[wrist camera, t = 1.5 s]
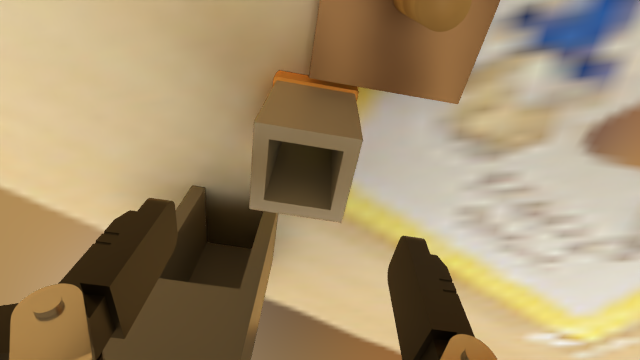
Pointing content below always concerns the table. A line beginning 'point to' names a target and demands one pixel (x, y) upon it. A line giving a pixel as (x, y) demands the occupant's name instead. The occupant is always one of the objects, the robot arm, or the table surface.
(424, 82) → the pin block
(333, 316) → the table surface
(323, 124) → the sleeve
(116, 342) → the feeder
